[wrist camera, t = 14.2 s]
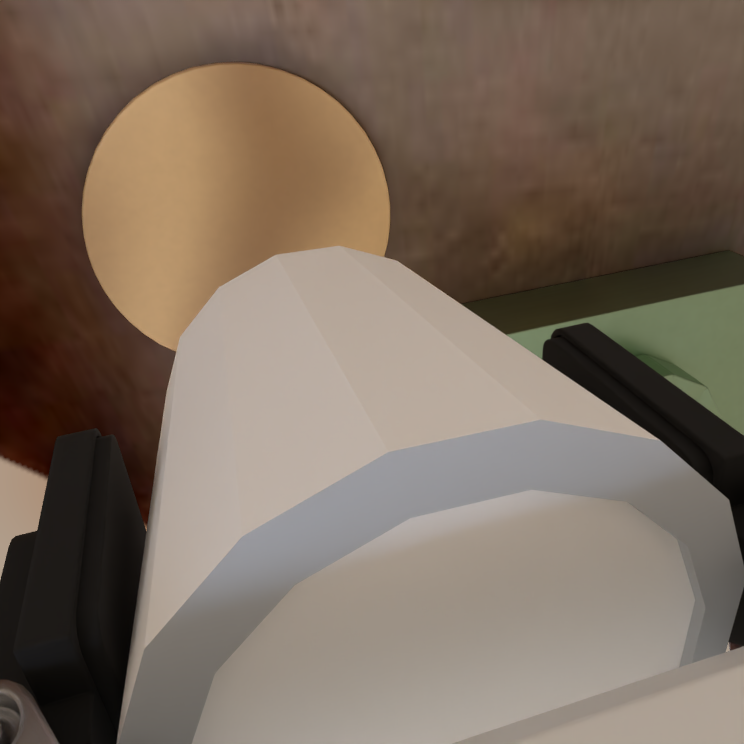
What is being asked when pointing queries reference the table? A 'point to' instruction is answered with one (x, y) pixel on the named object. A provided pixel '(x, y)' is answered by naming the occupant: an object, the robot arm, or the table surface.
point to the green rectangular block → (650, 322)
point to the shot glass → (402, 525)
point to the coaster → (223, 188)
